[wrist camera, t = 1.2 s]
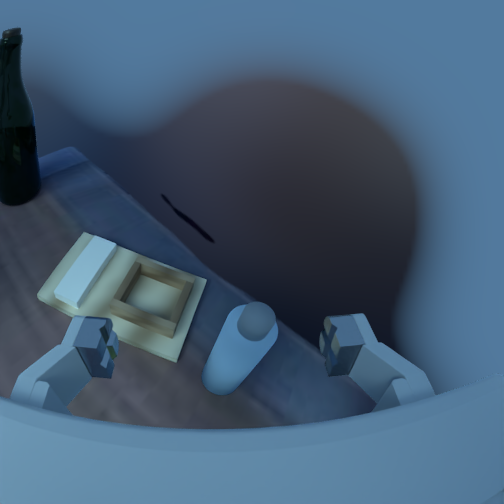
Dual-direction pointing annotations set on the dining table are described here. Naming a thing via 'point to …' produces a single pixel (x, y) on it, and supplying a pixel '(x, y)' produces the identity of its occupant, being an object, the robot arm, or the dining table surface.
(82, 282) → the white rectangular bar
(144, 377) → the dining table surface
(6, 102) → the green wine bottle
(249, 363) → the tapered blue cylinder
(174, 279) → the jig
